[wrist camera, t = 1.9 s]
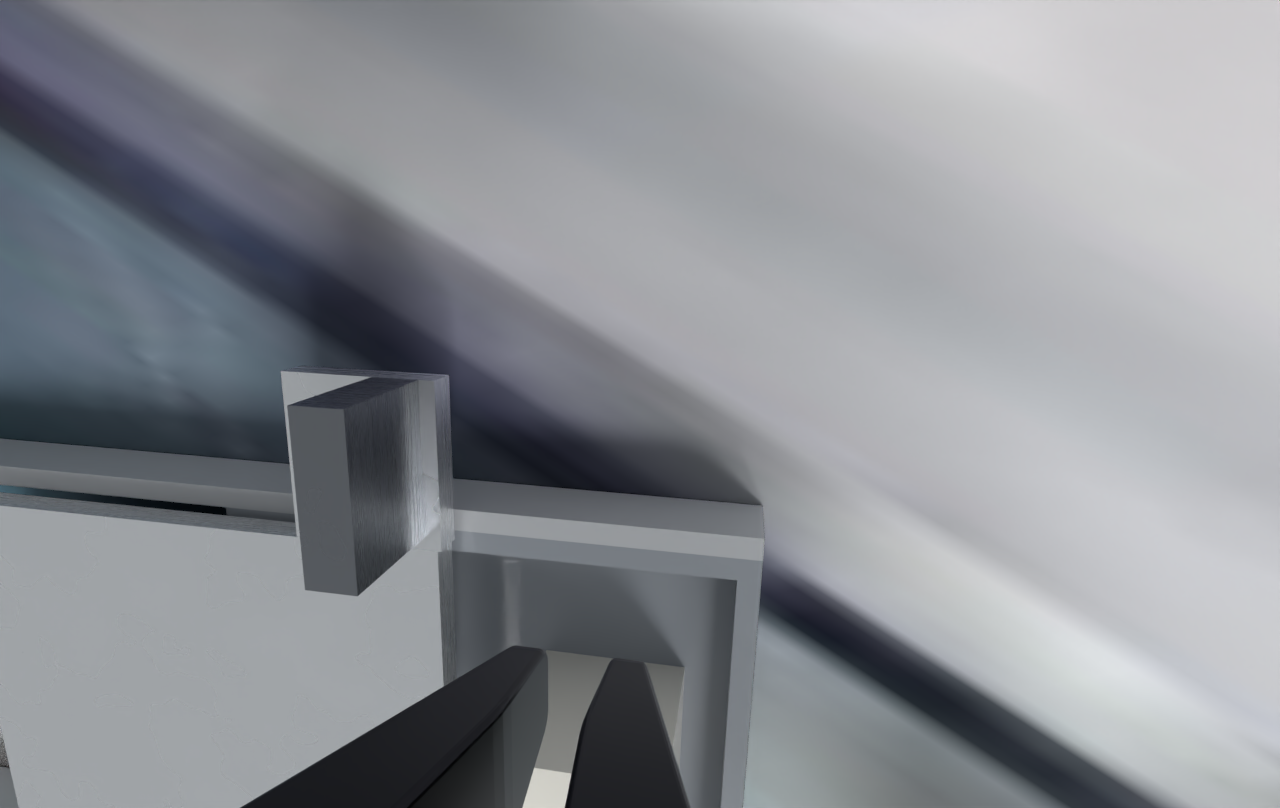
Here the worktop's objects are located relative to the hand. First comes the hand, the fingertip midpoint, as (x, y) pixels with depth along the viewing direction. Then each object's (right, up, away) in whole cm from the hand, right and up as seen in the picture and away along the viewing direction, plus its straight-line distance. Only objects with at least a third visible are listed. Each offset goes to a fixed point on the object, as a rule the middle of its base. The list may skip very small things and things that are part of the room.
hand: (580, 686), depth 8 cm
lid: (-12, -4, +12) cm, 17 cm away
